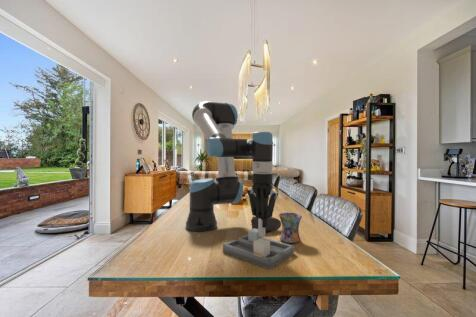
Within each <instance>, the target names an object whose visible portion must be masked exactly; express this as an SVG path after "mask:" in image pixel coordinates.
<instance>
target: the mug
mask: <svg viewBox="0 0 476 317" xmlns="http://www.w3.org/2000/svg"><path fill="white" fill-rule="evenodd" d="M278 217H279V219H280V221H281V234H280V237H279V239H280V241H281V242H283V243H286V244H296V243H298V242H301V239H302V238H301V237H300V232H299V228H300V223H301V220H302V217H303V216H302V214H300V213H297V212H296V213H295V212H280V213H279V214H278Z"/></svg>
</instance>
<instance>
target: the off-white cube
mask: <svg viewBox="0 0 476 317" xmlns="http://www.w3.org/2000/svg"><path fill="white" fill-rule="evenodd" d="M253 253H255V254H258V255H261V256H264V257H266V256H268V255H269V254H270V241H268V240H264V239H261V238H260V239H258V240H256V241H253Z"/></svg>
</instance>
